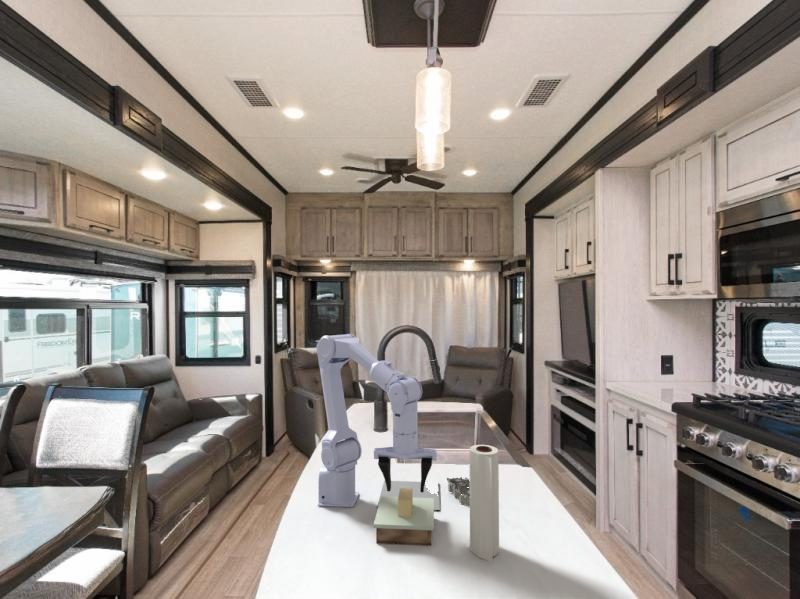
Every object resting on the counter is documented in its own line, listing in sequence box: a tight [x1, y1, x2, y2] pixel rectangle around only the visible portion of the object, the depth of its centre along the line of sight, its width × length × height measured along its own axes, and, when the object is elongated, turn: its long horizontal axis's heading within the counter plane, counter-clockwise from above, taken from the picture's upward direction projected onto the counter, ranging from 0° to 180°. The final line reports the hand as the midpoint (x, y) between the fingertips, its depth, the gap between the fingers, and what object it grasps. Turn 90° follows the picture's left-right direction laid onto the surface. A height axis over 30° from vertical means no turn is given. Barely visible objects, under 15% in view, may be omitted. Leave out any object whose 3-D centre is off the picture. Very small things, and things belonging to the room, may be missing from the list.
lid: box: [373, 488, 435, 531], centre depth 94 cm, size 13×13×5 cm
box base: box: [375, 528, 433, 547], centre depth 94 cm, size 12×12×4 cm
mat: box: [376, 480, 441, 510], centre depth 111 cm, size 16×16×1 cm
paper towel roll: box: [469, 444, 500, 564], centre depth 86 cm, size 7×6×21 cm
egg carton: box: [446, 476, 470, 506], centre depth 111 cm, size 11×8×4 cm
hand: (405, 490), depth 95 cm, fingers open, 7 cm apart
